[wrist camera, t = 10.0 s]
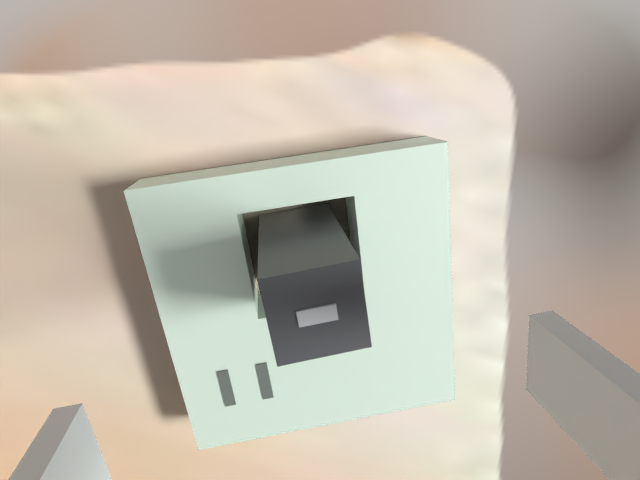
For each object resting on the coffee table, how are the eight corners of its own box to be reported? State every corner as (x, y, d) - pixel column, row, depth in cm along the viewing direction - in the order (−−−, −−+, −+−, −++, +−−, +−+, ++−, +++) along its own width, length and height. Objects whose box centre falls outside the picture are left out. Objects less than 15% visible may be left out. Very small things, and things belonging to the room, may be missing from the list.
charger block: (272, 277, 26) (277, 368, 18) (259, 215, 25) (257, 280, 16) (337, 265, 26) (372, 348, 18) (327, 202, 25) (360, 260, 17)
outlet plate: (204, 414, 29) (198, 451, 26) (140, 178, 23) (122, 191, 20) (437, 370, 30) (455, 400, 27) (426, 136, 25) (448, 142, 22)
